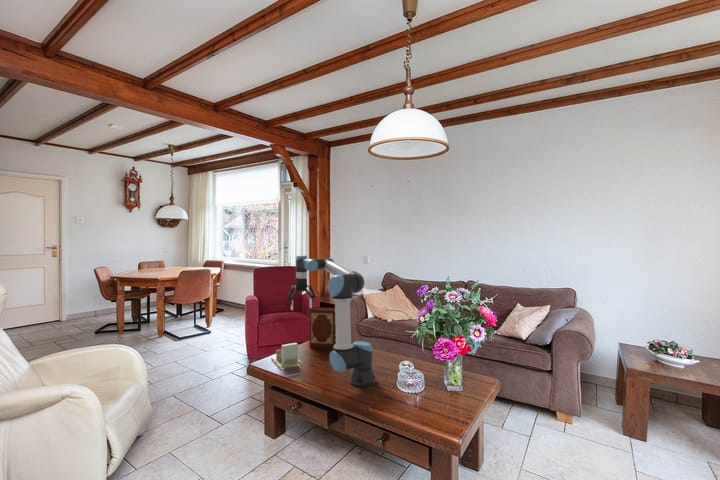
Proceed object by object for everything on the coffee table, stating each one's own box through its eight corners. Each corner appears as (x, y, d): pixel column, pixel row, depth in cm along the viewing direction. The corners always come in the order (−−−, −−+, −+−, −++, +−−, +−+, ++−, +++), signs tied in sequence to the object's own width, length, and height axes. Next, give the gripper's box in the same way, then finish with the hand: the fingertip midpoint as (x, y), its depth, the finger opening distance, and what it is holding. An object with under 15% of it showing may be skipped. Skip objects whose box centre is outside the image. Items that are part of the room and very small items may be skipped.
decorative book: (339, 345, 268) (339, 307, 268) (338, 348, 260) (338, 309, 260) (312, 344, 271) (312, 306, 270) (309, 347, 263) (309, 309, 262)
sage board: (297, 364, 224) (297, 343, 224) (283, 367, 219) (283, 346, 219) (295, 363, 227) (296, 342, 227) (281, 366, 222) (281, 344, 222)
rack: (271, 361, 234) (271, 351, 233) (291, 357, 241) (291, 347, 241) (280, 371, 216) (280, 360, 216) (302, 366, 224) (302, 356, 224)
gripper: (316, 276, 241) (316, 305, 241) (282, 278, 228) (282, 309, 229) (320, 277, 235) (320, 307, 235) (285, 279, 222) (285, 311, 222)
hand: (301, 308), depth 232 cm, fingers open, 13 cm apart
